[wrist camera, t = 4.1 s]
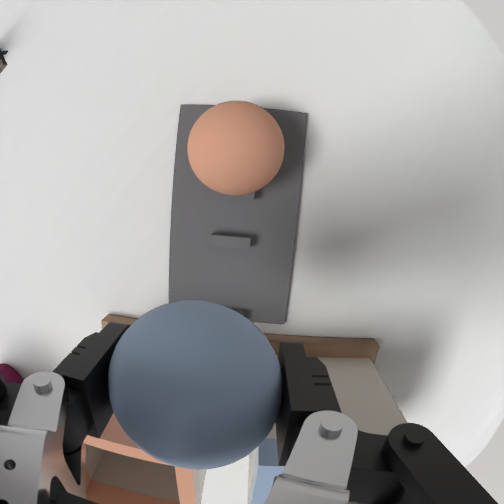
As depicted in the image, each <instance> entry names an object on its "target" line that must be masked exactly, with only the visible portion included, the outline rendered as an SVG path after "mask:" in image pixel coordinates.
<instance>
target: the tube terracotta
mask: <svg viewBox="0 0 504 504" xmlns="http://www.w3.org/2000/svg"><path fill="white" fill-rule="evenodd" d="M84 444H85V447H86V461H85V488H86V497H87V500H90V501H92V502H95V503H98V504H201V498H202V492H203V486H204V480H205V474H206V469H201V470H198V469H185V468H180V467H176V466H172V465H169V464H166V463H164V462H161V461H159V460H157V459H155V458H153V457H152V456H150V455H148V454H147V453H145V452H144V451H143V450H142V449H140V448H139V447H138V446H137V445H136V444H135V443H134V442H133V441H132V440H131V439H130V438H129V437H128V436H127V435H126V433H125V432H124V430H123V429H122V427H121V426H120V424H119V422H118V421H117V419H116V417H115V414H114V413H113V415H112V417H111V418H110V420H109V422H108V424H107V426H106V428H105V430H104V431H103V433H102V435H101V437H100V439H99V438H95V437H92V436H89V435H87V436H86V438H85V440H84Z"/></svg>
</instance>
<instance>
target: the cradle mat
mask: <svg viewBox="0 0 504 504" xmlns="http://www.w3.org/2000/svg"><path fill="white" fill-rule="evenodd" d="M213 106H215V105H181V107H180V115H179V124H178V134H177V144H176V154H175V166H174V179H173V193H172V209H171V230H170V258H169V303H174V302H179V301H188V300H195V301H206V302H212V303H216V304H219V305H223V306H225V307H227V308H230V309H232V310H234V311H236V312H238V313H240V314H241V315H243V316H244V317H246V318H247V319H248V320H250V321H251V322H261V323H274V324H284V323H285V316H286V309H287V301H288V294H289V286H290V278H291V270H292V261H293V253H294V244H295V235H296V226H297V217H298V207H299V197H300V187H301V176H302V165H303V154H304V142H305V129H306V116H307V113H302V112H294V111H285V110H276V109H265V108H263V109H264V110H266V111H267V112H268V113H269V114H270V115H271V116H272V117H273V118H274V119H275V120H276V122H277V123H278V125H279V127H280V129H281V131H282V134H283V138H284V157H283V161H282V164H281V166H280V169H279V171H278V172H277V174H276V175H275V176H274V178H273V179H272V180H271V181H270V182H269V183H268V184H267V185H265V186H264V187H263V188H261V189H259V190H257V191H255V192H252V193H249V194H245V195H226V194H222V193H219V192H217V191H214V190H212V189H210V188H209V187H207V186H206V185H205V184H203V183H202V182H201V181H200V180H199V179H198V177H197V176H196V175H195V173H194V171H193V170H192V168H191V165H190V162H189V158H188V151H187V145H188V138H189V135H190V132H191V129H192V127H193V125H194V124H195V122H196V121H197V120H198V118H199V117H200V116H201V115H202V114H203V113H204V112H205V111H207V110H208V109H210V108H211V107H213ZM261 108H262V107H261Z"/></svg>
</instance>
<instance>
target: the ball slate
mask: <svg viewBox="0 0 504 504" xmlns="http://www.w3.org/2000/svg"><path fill="white" fill-rule="evenodd" d="M108 391H109V398H110V402H111V406H112V409H113V412H114V414H115V417H116V419H117V421H118V422H119V424H120V426H121V427H122V429H123V430H124V432H125V433H126V435H127V436H128V437H129V438H130V439H131V440H132V441H133V442H134V443H135V444H136V445H137V446H138V447H139V448H140V449H142V450H143V451H144V452H145V453H147V454H148V455H150V456H152V457H153V458H155V459H157V460H159V461H161V462H164V463H166V464H169V465H172V466H176V467H180V468H185V469H198V470H201V469H212V468H217V467H222V466H225V465H228V464H231V463H233V462H236V461H238V460H239V459H241V458H243V457H245V456H247V455H248V454H249V453H251V452H252V451H253V450H255V449H256V448H257V447H258V446H259V445H260V444H261V443H262V442H263V441H264V440H265V438H266V437H267V436H268V434H269V433H270V432H271V430H272V428H273V426H274V424H275V422H276V420H277V418H278V416H279V412H280V409H281V403H282V394H283V376H282V372H281V368H280V364H279V360H278V358H277V356H276V353H275V351H274V349H273V347H272V346H271V344H270V342H269V341H268V339H267V338H266V337H265V335H264V334H263V333H262V332H261V331H260V330H259V329H258V328H257V327H256V326H255V325H254V324H253V323H252V322H251V321H250V320H248V319H247V318H246V317H244V316H243V315H241V314H240V313H238V312H236V311H234V310H232V309H230V308H227V307H225V306H223V305H219V304H216V303H212V302H206V301H195V300H188V301H179V302H174V303H169V304H165V305H163V306H160V307H157V308H155V309H153V310H151V311H149V312H148V313H146V314H144V315H143V316H141V317H140V318H139V319H137V320H136V321H135V322H134V323H133V324H132V325H131V326H130V327H129V328H128V329H127V330H126V331H125V333H124V334H123V336H122V337H121V339H120V340H119V342H118V343H117V345H116V347H115V350H114V352H113V355H112V358H111V361H110V365H109V372H108Z"/></svg>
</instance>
